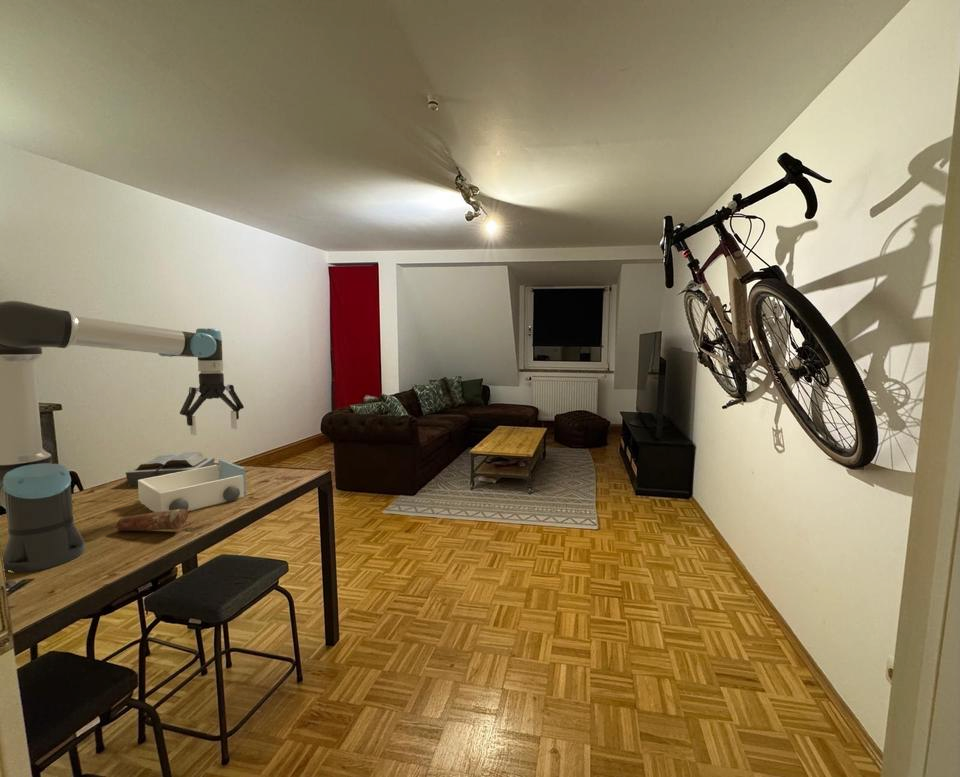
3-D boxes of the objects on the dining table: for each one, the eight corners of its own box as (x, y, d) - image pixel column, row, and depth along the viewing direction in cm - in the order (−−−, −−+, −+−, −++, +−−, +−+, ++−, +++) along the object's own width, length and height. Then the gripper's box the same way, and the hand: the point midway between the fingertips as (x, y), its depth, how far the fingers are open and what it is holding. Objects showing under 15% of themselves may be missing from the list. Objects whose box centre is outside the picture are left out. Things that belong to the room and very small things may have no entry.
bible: (188, 489, 167) (187, 464, 166) (116, 489, 166) (114, 463, 165) (223, 472, 190) (222, 449, 189) (160, 471, 189) (159, 449, 188)
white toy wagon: (163, 519, 137) (162, 494, 136) (137, 501, 152) (136, 479, 152) (246, 497, 157) (245, 476, 156) (216, 484, 172) (214, 464, 171)
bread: (179, 533, 126) (174, 516, 124) (114, 535, 126) (108, 519, 124) (193, 519, 132) (188, 504, 130) (130, 522, 132) (125, 506, 130)
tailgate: (243, 494, 159) (242, 468, 158) (219, 483, 171) (218, 459, 170) (246, 493, 160) (245, 468, 159) (222, 483, 172) (221, 459, 171)
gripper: (175, 374, 143) (179, 438, 145) (251, 371, 163) (254, 427, 166) (166, 373, 148) (170, 435, 150) (241, 370, 168) (244, 425, 170)
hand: (214, 431), depth 158 cm, fingers open, 13 cm apart
